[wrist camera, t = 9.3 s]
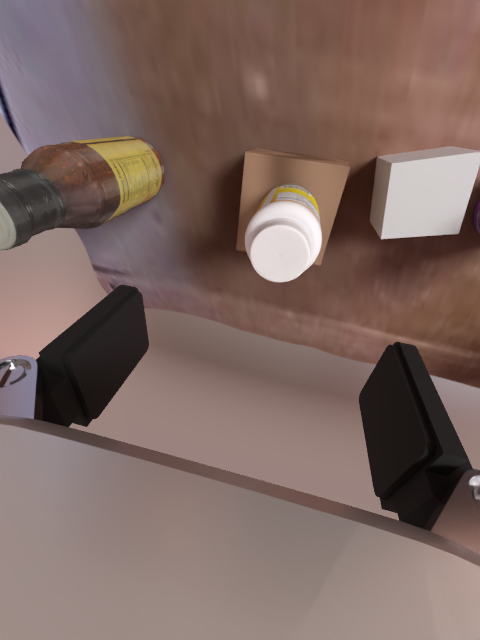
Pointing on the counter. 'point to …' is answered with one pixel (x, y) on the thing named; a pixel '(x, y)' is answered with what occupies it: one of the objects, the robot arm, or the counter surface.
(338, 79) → the counter surface
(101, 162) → the sauce bottle
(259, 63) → the counter surface
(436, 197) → the white cube
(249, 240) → the supplement bottle
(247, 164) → the brown square block
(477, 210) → the beverage can
